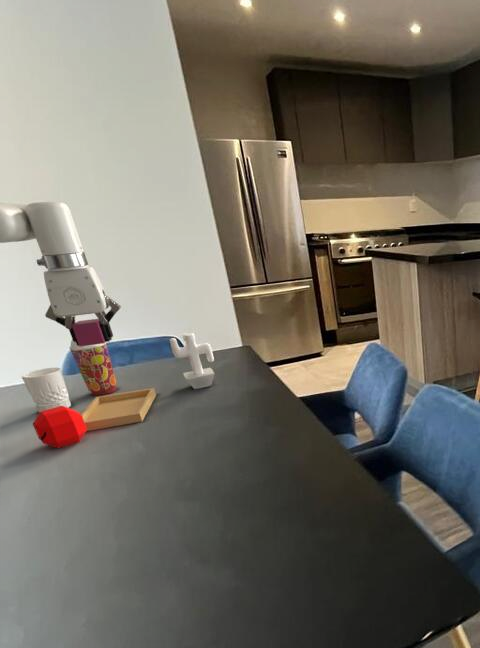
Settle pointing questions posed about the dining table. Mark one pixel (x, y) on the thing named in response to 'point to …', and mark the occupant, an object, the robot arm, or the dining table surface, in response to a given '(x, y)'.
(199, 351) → the figurine
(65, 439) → the red apple
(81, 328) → the pink block
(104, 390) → the smoothie
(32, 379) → the white cup
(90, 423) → the tray
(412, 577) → the dining table surface
